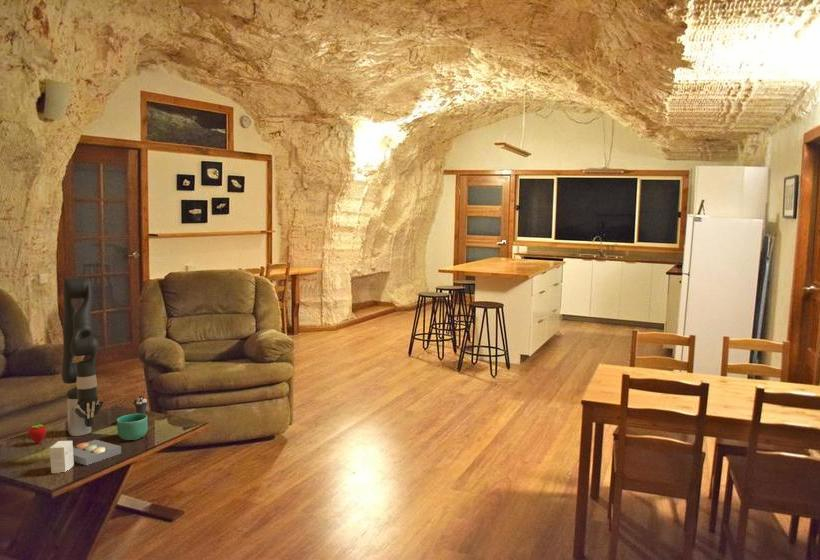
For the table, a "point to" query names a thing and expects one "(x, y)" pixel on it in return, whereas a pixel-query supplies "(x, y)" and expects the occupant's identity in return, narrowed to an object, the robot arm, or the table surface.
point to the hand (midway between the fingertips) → (89, 426)
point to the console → (90, 457)
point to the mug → (132, 426)
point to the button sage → (90, 447)
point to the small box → (61, 456)
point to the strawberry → (37, 433)
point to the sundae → (140, 404)
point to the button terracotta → (82, 445)
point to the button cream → (99, 450)
